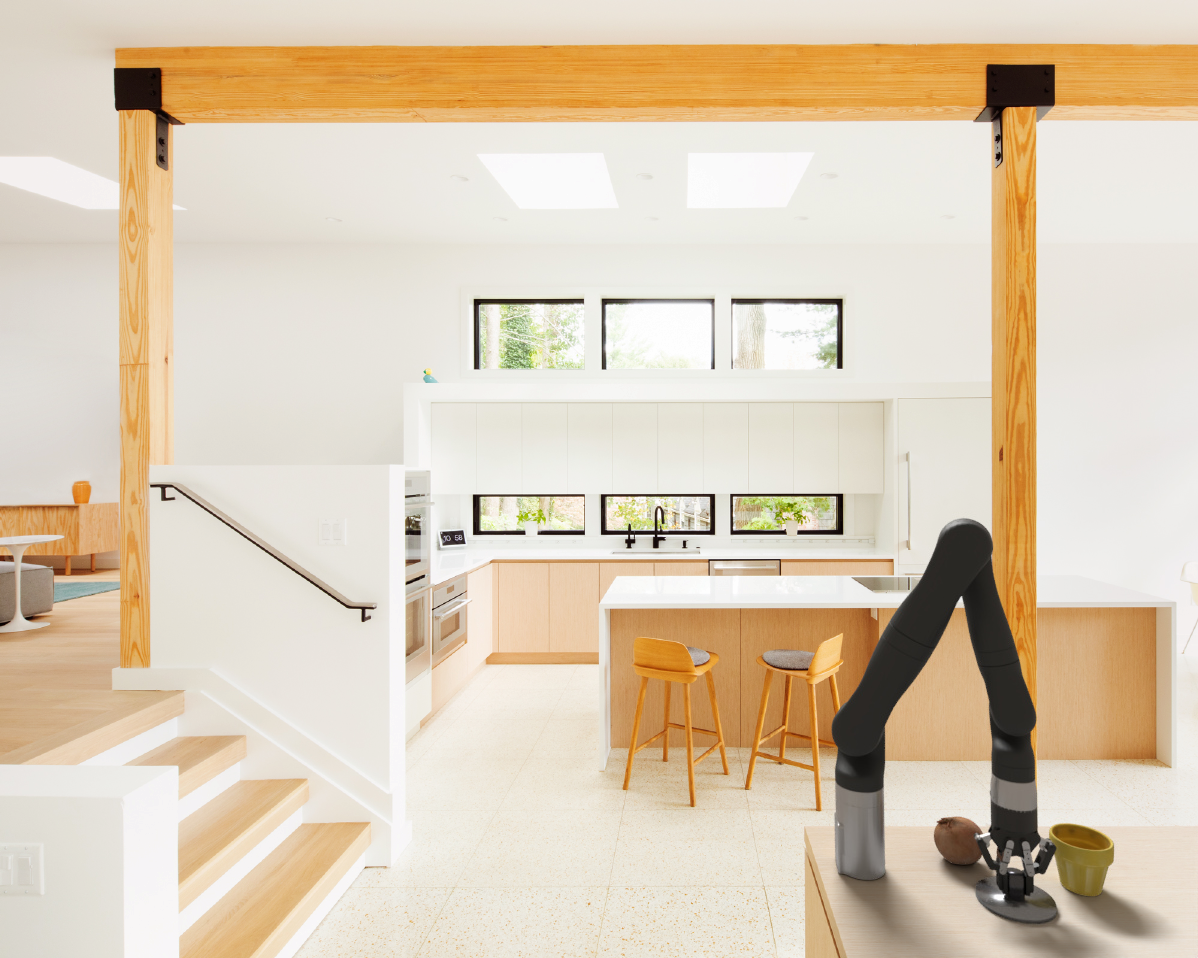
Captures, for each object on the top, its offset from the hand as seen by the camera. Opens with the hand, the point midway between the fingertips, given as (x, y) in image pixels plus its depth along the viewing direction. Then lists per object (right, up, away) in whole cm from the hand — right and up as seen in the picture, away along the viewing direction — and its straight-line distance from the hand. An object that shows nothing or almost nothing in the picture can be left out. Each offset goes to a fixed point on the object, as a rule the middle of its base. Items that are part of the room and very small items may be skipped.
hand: (1015, 891), depth 135 cm
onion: (-3, -2, +14) cm, 14 cm away
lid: (0, -2, 0) cm, 2 cm away
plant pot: (+15, -2, +4) cm, 16 cm away
